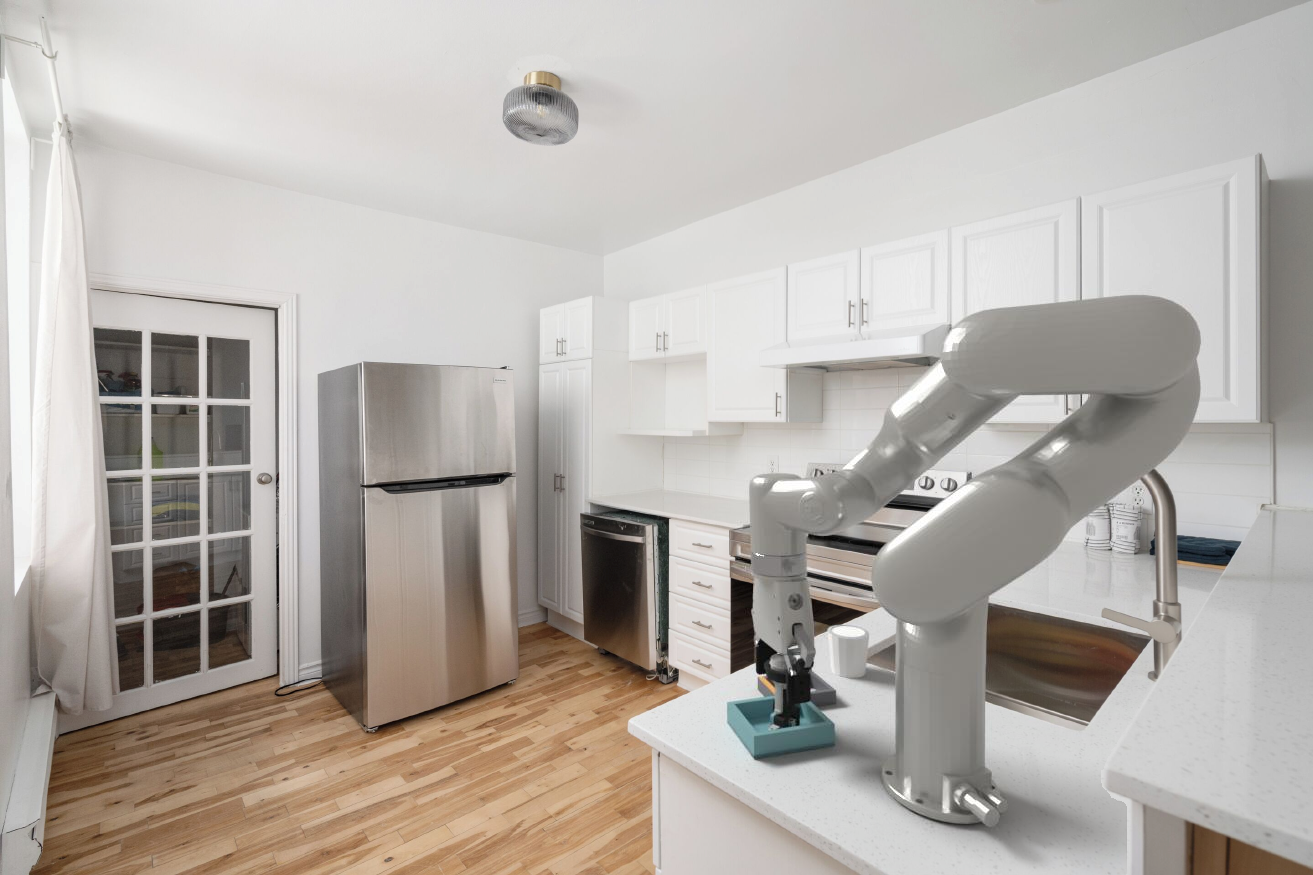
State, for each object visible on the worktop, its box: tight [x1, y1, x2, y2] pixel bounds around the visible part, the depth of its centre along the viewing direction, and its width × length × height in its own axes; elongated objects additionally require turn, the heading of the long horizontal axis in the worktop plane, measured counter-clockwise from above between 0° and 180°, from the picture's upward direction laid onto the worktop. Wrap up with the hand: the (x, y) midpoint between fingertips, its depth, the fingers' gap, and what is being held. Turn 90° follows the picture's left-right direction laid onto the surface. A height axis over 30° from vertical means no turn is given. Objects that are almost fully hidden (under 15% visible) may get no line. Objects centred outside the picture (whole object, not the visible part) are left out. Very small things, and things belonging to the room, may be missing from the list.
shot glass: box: [827, 624, 870, 679], centre depth 104 cm, size 7×7×7 cm
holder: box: [757, 670, 837, 707], centre depth 95 cm, size 8×10×2 cm
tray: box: [726, 696, 836, 760], centre depth 84 cm, size 10×12×3 cm
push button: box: [764, 653, 800, 730], centre depth 83 cm, size 7×5×10 cm
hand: (781, 686), depth 83 cm, fingers open, 9 cm apart
